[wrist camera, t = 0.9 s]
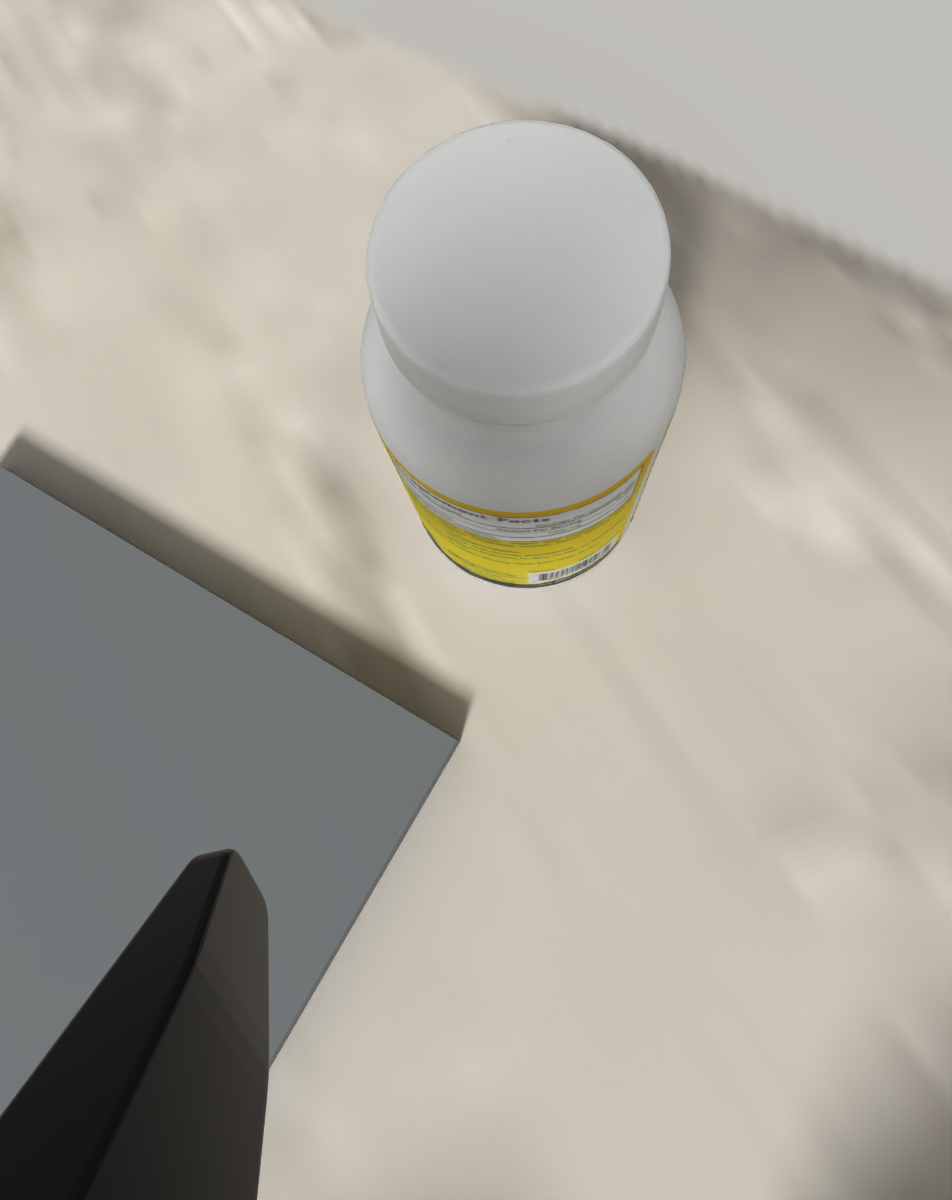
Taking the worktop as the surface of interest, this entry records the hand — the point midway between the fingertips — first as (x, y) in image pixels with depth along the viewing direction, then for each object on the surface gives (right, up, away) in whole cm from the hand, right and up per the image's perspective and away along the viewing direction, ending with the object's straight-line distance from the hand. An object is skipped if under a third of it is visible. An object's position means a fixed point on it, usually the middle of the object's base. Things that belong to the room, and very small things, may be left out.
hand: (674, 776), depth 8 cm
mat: (-13, -4, +14) cm, 19 cm away
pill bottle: (-1, +5, +15) cm, 16 cm away
